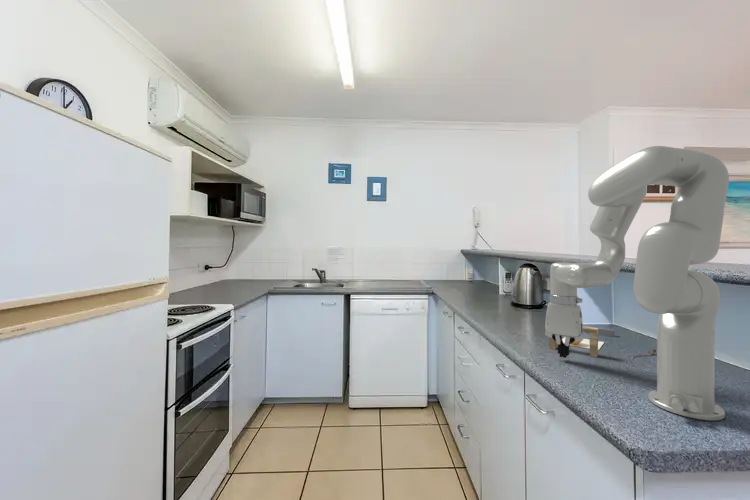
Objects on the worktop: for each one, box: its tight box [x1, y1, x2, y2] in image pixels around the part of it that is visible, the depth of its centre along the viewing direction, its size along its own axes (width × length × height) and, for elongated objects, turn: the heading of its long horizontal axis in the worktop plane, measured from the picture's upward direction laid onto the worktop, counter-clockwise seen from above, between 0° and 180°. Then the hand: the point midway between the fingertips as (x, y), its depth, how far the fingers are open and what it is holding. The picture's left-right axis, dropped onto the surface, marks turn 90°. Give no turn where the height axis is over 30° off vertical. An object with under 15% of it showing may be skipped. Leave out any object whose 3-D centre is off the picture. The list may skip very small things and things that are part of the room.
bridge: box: [548, 325, 599, 358], centre depth 113 cm, size 3×14×9 cm, turn 47°
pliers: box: [630, 348, 657, 361], centre depth 108 cm, size 10×1×20 cm
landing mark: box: [562, 336, 605, 351], centre depth 123 cm, size 13×13×1 cm
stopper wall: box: [584, 325, 615, 338], centre depth 138 cm, size 2×16×2 cm, turn 47°
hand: (563, 356), depth 104 cm, fingers closed
